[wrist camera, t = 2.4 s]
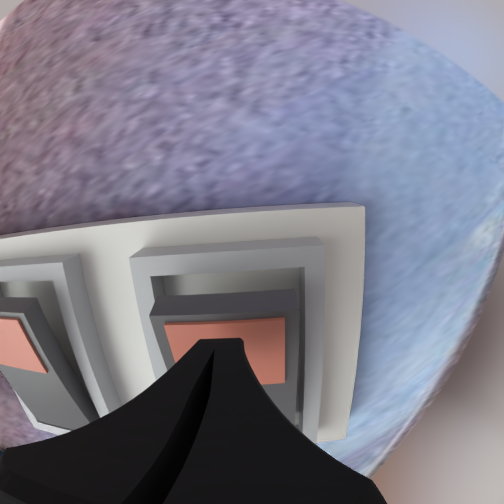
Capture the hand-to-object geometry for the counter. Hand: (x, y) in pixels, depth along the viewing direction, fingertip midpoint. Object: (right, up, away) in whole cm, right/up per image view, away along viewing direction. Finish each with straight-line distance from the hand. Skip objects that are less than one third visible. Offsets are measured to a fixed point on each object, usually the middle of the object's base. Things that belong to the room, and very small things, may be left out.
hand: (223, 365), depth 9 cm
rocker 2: (0, -2, +3) cm, 4 cm away
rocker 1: (-11, -3, +4) cm, 12 cm away
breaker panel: (-5, -2, +7) cm, 9 cm away
